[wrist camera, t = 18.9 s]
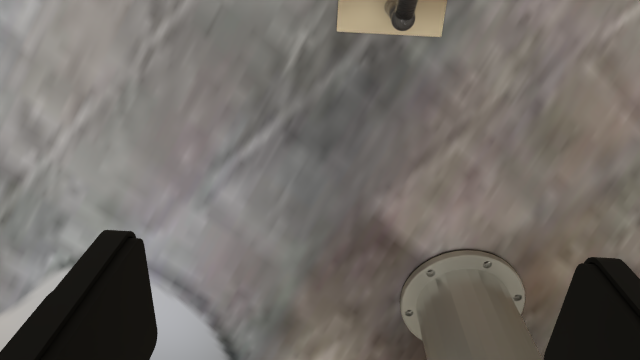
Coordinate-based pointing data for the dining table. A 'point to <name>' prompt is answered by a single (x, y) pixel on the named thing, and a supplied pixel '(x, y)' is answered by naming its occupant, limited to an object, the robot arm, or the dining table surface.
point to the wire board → (370, 17)
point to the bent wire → (401, 13)
